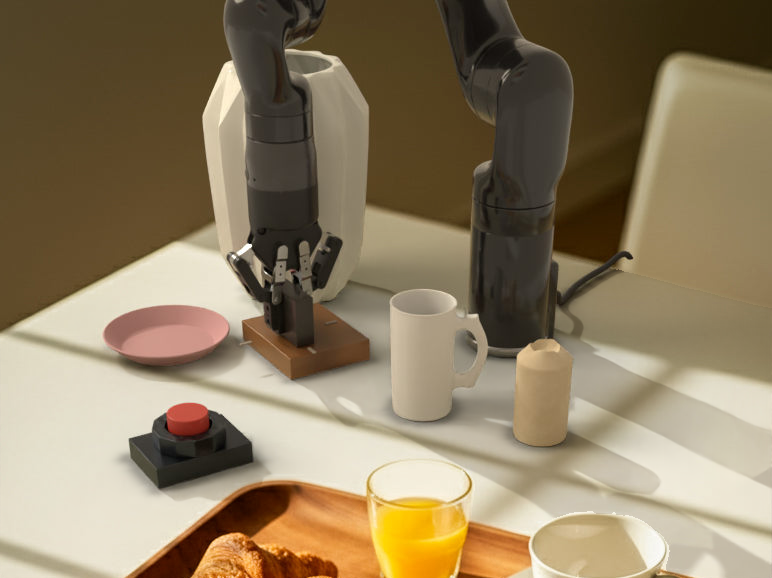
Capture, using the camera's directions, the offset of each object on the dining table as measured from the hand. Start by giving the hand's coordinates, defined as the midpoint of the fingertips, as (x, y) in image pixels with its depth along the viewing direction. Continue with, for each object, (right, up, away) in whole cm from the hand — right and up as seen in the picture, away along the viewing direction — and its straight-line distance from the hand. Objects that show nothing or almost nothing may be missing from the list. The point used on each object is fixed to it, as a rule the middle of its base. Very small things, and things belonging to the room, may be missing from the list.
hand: (289, 328), depth 151 cm
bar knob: (0, 0, 0) cm, 1 cm away
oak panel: (0, -2, +2) cm, 3 cm away
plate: (-14, -2, +3) cm, 15 cm away
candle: (+27, -13, -14) cm, 33 cm away
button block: (-8, -16, -19) cm, 26 cm away
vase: (-1, +7, +17) cm, 19 cm away
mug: (+16, -10, -9) cm, 21 cm away
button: (-8, -13, -21) cm, 26 cm away
